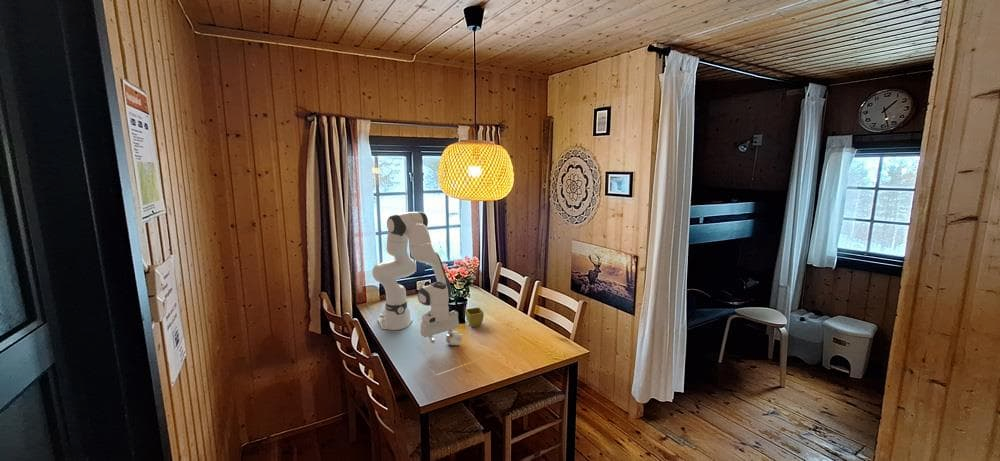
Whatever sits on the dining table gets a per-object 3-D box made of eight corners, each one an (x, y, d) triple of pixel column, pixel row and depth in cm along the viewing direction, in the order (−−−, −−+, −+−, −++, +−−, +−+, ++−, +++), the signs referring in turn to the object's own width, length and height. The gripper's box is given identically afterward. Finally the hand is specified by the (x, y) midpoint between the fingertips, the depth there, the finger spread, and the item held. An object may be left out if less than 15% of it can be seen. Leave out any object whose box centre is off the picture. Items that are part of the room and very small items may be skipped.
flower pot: (484, 327, 227) (484, 312, 225) (469, 329, 224) (469, 314, 222) (479, 321, 235) (479, 307, 233) (465, 323, 232) (465, 309, 230)
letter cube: (445, 341, 205) (448, 330, 205) (454, 341, 208) (457, 331, 208) (450, 345, 201) (453, 334, 201) (459, 345, 204) (462, 335, 204)
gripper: (454, 307, 206) (455, 332, 208) (418, 317, 194) (419, 343, 196) (461, 311, 201) (461, 337, 203) (424, 321, 189) (425, 348, 191)
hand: (440, 340), depth 200 cm, fingers open, 8 cm apart
